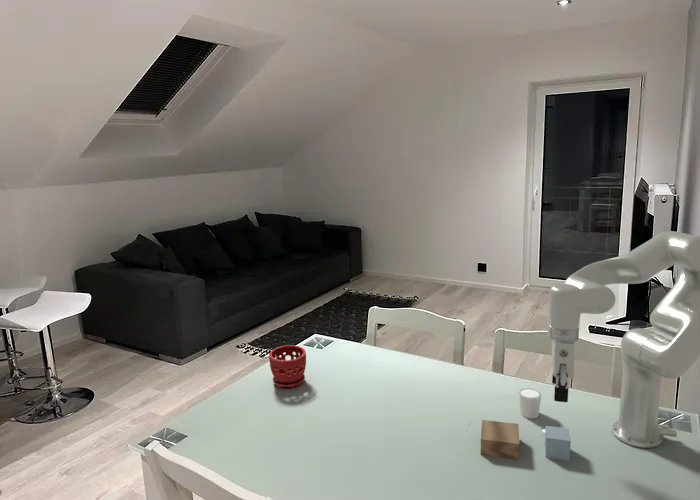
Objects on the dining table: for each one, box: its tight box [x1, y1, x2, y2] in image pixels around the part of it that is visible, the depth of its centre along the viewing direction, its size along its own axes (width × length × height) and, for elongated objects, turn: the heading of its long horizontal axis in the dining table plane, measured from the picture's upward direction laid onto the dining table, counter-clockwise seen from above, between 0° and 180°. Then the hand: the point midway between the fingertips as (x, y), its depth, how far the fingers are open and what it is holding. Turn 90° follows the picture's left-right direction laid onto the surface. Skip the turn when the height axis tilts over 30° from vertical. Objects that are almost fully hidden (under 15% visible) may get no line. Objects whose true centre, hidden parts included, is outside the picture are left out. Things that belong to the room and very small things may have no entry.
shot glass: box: [517, 387, 542, 419], centre depth 161 cm, size 7×7×7 cm
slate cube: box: [544, 425, 572, 462], centre depth 141 cm, size 6×6×6 cm
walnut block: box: [480, 419, 520, 460], centre depth 145 cm, size 10×10×5 cm
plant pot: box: [268, 344, 307, 388], centre depth 186 cm, size 13×13×12 cm
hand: (559, 392), depth 138 cm, fingers open, 9 cm apart
